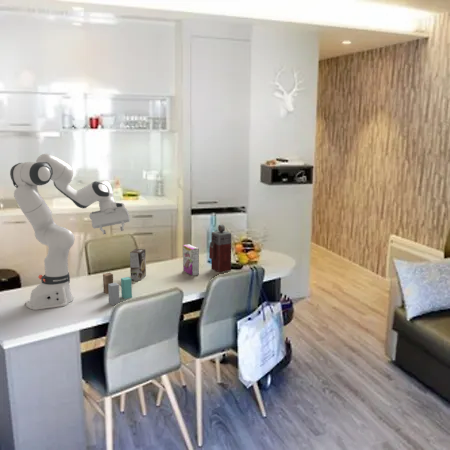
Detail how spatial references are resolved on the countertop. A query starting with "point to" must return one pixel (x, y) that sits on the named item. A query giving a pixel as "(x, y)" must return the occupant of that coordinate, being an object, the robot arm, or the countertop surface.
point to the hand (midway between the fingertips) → (113, 232)
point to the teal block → (126, 287)
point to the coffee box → (138, 264)
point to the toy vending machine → (220, 250)
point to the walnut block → (107, 281)
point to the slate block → (113, 293)
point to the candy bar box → (191, 259)
